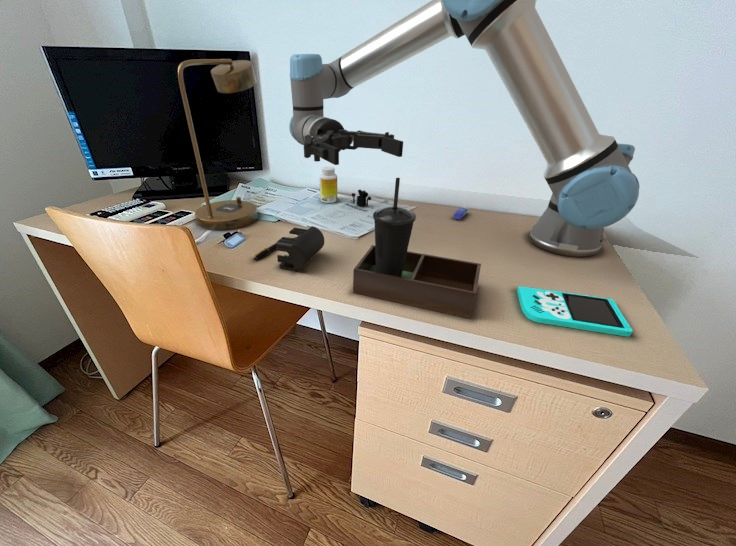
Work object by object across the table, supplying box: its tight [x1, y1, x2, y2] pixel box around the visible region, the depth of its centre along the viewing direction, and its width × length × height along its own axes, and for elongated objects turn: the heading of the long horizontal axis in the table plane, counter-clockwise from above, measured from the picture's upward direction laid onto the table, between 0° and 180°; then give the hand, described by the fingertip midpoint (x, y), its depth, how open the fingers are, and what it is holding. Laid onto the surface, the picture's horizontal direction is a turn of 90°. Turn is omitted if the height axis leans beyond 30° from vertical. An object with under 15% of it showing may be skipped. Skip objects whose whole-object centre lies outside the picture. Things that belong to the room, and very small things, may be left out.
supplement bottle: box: [319, 166, 338, 204], centre depth 109 cm, size 6×6×10 cm
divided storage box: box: [352, 244, 482, 319], centre depth 66 cm, size 11×22×5 cm, turn 67°
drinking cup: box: [372, 177, 417, 277], centre depth 63 cm, size 8×8×20 cm
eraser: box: [453, 206, 469, 221], centre depth 99 cm, size 2×6×2 cm, turn 145°
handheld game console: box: [516, 285, 633, 338], centre depth 61 cm, size 10×16×1 cm, turn 73°
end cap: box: [276, 225, 325, 272], centre depth 76 cm, size 10×7×7 cm
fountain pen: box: [252, 236, 292, 261], centre depth 83 cm, size 14×1×2 cm, turn 150°
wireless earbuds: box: [351, 189, 372, 208], centre depth 106 cm, size 7×2×5 cm, turn 54°
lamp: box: [177, 58, 258, 231], centre depth 93 cm, size 17×27×38 cm, turn 157°
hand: (370, 153), depth 64 cm, fingers open, 13 cm apart
